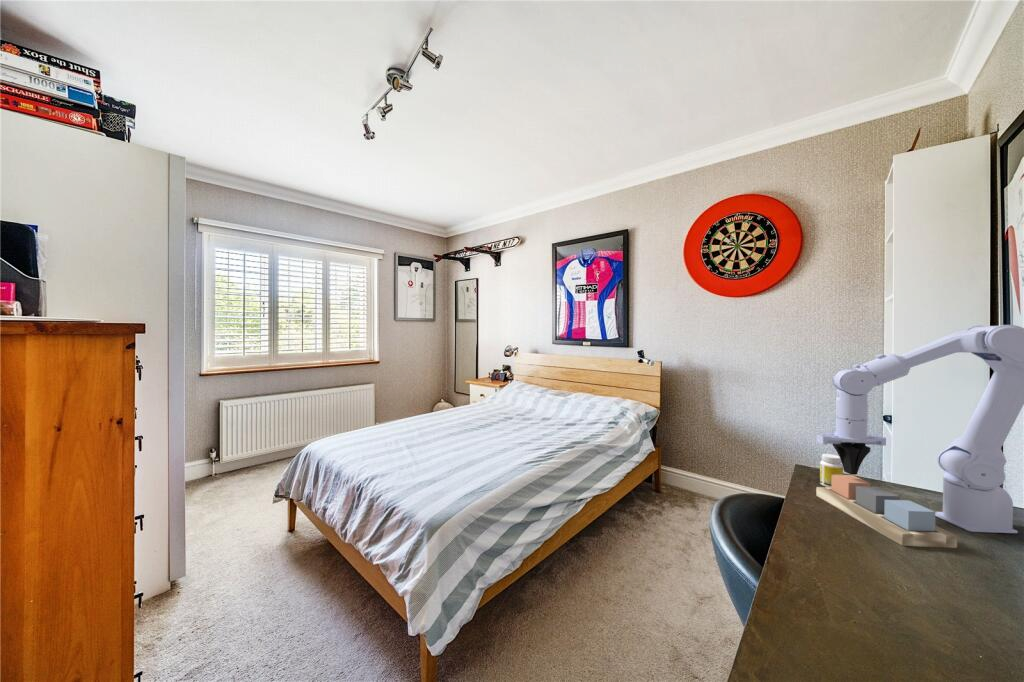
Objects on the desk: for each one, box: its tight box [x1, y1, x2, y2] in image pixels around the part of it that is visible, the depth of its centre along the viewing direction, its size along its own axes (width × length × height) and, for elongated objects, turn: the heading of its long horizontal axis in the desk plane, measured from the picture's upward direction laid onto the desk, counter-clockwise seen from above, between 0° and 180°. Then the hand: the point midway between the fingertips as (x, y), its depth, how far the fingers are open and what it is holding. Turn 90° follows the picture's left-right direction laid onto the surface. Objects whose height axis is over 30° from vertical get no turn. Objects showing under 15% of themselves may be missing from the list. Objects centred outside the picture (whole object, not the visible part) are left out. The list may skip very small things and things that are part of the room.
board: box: [815, 486, 958, 549], centre depth 82 cm, size 10×22×2 cm, turn 176°
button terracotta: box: [831, 474, 872, 499], centre depth 89 cm, size 5×5×4 cm
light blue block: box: [884, 499, 936, 532], centre depth 75 cm, size 5×5×4 cm
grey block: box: [856, 486, 901, 514], centre depth 82 cm, size 5×5×4 cm
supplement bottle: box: [819, 453, 844, 487], centre depth 99 cm, size 5×5×8 cm
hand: (850, 473), depth 89 cm, fingers closed
